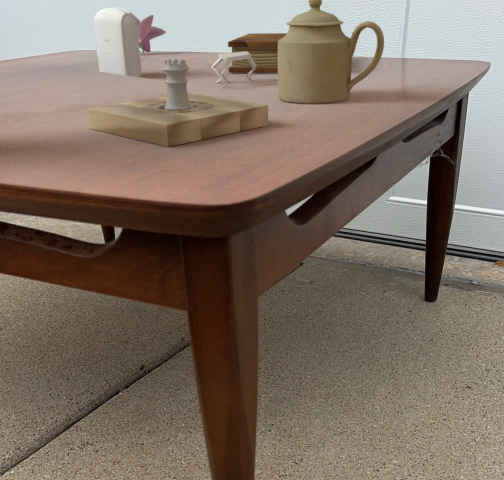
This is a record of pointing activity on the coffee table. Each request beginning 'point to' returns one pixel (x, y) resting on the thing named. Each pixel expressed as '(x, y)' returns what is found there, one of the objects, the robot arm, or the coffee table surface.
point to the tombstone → (117, 42)
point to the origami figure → (233, 57)
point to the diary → (257, 52)
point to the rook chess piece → (176, 85)
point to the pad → (178, 119)
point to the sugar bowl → (320, 58)
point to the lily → (147, 32)
